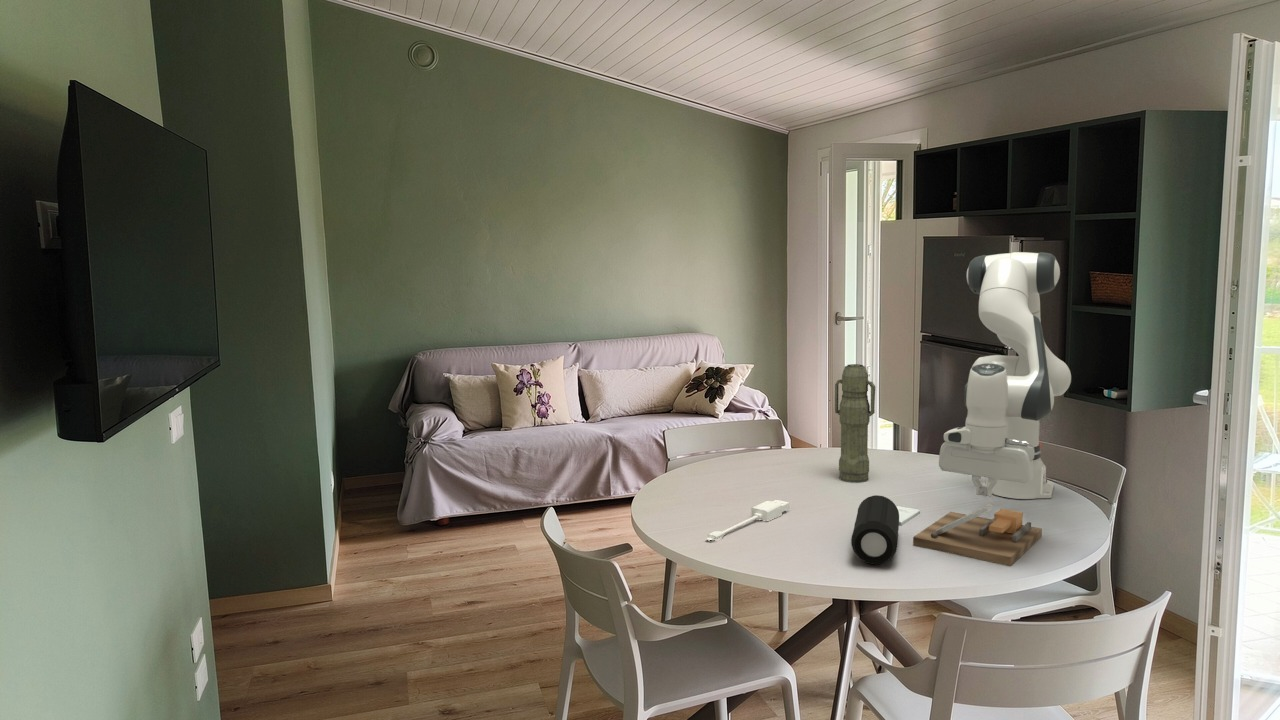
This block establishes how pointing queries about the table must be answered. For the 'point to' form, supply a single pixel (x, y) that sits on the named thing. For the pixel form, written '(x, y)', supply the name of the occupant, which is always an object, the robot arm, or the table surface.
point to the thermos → (854, 422)
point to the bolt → (1006, 521)
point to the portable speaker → (876, 530)
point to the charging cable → (757, 515)
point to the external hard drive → (906, 514)
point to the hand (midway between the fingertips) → (984, 495)
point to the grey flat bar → (964, 519)
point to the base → (978, 539)
